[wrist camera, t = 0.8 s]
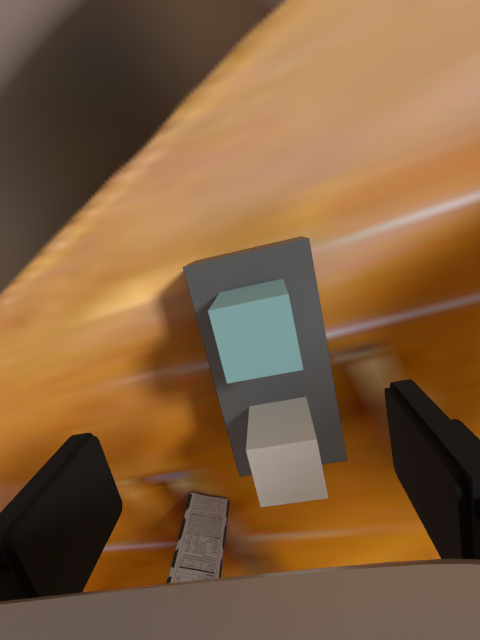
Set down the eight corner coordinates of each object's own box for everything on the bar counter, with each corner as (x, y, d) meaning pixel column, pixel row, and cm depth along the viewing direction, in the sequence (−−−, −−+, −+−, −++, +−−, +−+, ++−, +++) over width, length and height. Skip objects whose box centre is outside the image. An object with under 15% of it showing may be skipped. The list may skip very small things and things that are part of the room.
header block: (301, 236, 30) (322, 241, 19) (335, 428, 35) (367, 516, 24) (195, 260, 31) (160, 278, 21) (242, 443, 36) (234, 532, 26)
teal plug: (279, 269, 31) (288, 293, 20) (289, 320, 32) (303, 369, 21) (227, 281, 32) (207, 310, 21) (239, 330, 33) (226, 383, 22)
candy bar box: (221, 569, 41) (195, 780, 26) (181, 562, 42) (131, 768, 26) (232, 496, 38) (211, 685, 23) (189, 489, 38) (138, 671, 23)
